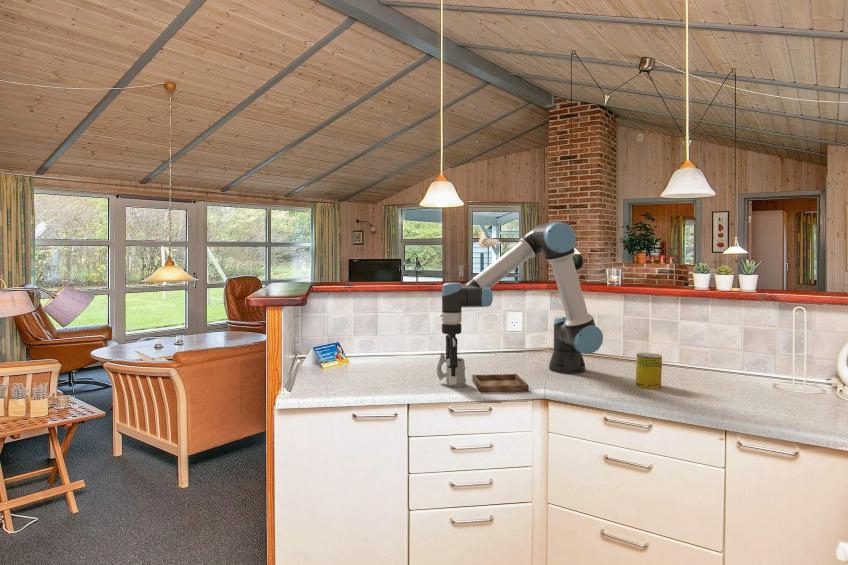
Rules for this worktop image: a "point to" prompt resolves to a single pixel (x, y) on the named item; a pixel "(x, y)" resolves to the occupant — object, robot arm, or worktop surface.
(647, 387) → the yellow tin can
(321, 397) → the worktop surface
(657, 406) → the worktop surface
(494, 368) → the worktop surface
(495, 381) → the tray
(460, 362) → the mug
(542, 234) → the robot arm
